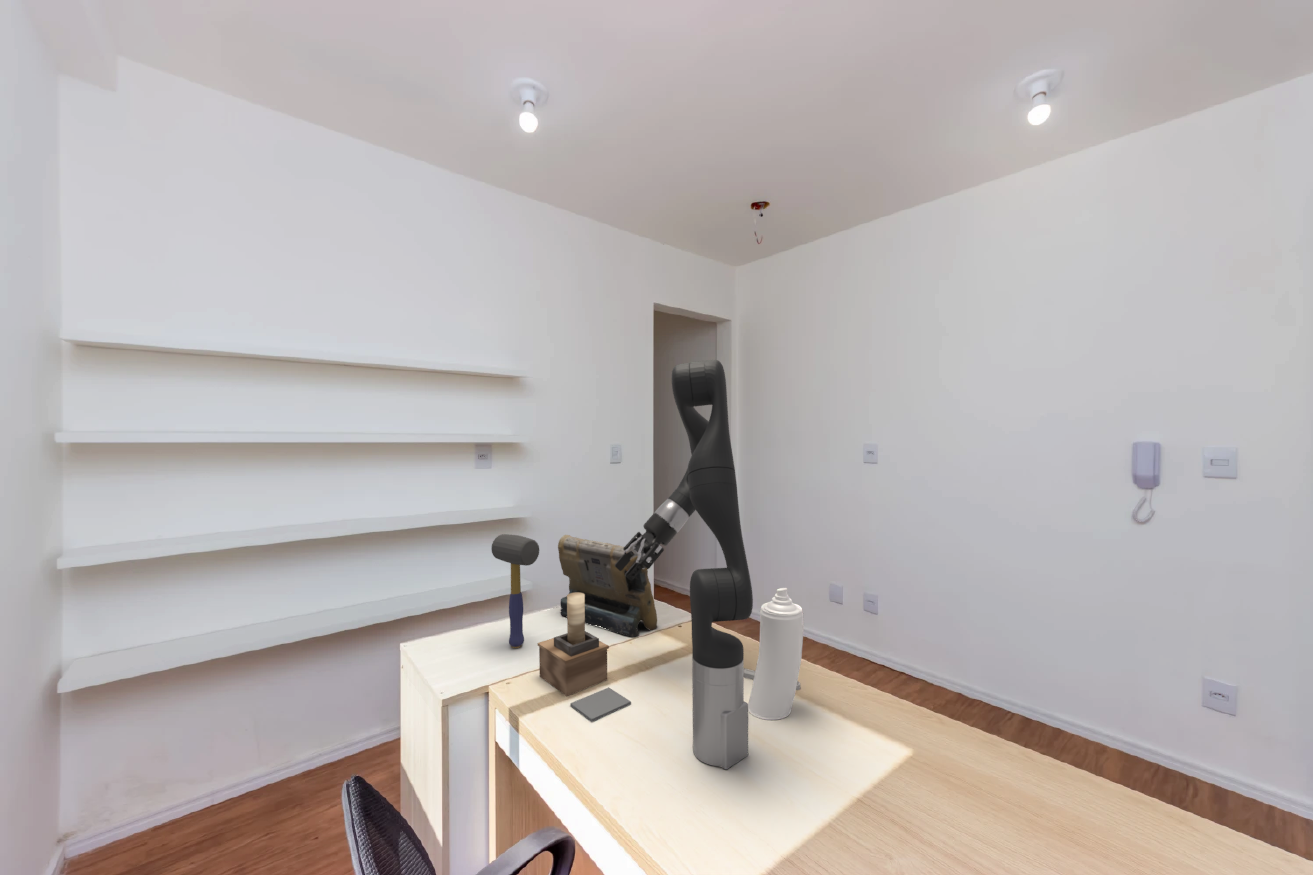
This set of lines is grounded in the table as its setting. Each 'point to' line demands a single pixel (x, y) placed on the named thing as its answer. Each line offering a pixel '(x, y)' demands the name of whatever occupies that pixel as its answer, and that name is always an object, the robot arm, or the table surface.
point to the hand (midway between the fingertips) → (622, 573)
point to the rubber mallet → (515, 576)
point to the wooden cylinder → (576, 617)
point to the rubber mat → (600, 704)
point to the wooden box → (573, 663)
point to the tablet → (606, 586)
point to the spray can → (777, 658)
